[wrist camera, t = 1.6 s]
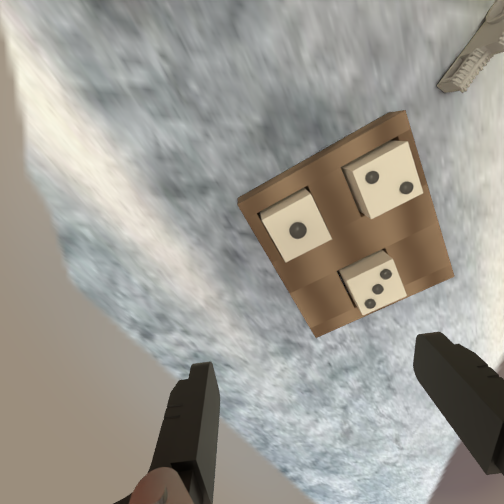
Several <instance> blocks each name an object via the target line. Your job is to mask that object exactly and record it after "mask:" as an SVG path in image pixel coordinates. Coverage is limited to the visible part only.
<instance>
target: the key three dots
mask: <svg viewBox="0 0 504 504" xmlns="http://www.w3.org/2000/svg"><path fill="white" fill-rule="evenodd" d="M338 271H339V273H340V276H341V278H342V280H343V282H344V284H345V286H346V288H347V290H348V292H349V294H350V296H351V298H352V300H353V301H354V303H355V304H356V306H357V307H358V309H359V310H360V312H361V313H362V315H366V314H368V313H370V312H372V311H375V310H377V309H379V308H381V307H383V306H386V305H388V304H390V303H392V302H395V301H397V300H399V299H401V298H404V297H406V296H407V294H406V292H405V289H404V287H403V284H402V281H401V279H400V276H399V274H398V271H397V268H396V266H395V263H394V261H393V259H392V258H391V257H390V256H389V255H388V254H386V253H385V252H384V251H383V250H382V249H381V250H379V251H377V252H375V253H373V254H371V255H369V256H367V257H365V258H363V259H360V260H358V261H356V262H354V263H352V264H350V265H348V266H346V267H344V268H342V269H340V270H338Z"/></svg>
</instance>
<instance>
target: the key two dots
mask: <svg viewBox="0 0 504 504" xmlns="http://www.w3.org/2000/svg"><path fill="white" fill-rule="evenodd" d="M341 170H342V172H343V174H344V177H345V179H346V182H347V184H348V187H349V189H350V191H351V194H352V196H353V199H354V201H355V204H356V206H357V208H358V211H360V212H361V213H363V214H364V215H366V216H367V217H369V218H370V219H373V218H375V217H377V216H379V215H381V214H383V213H385V212H387V211H389V210H391V209H393V208H395V207H397V206H399V205H401V204H403V203H405V202H407V201H409V200H411V199H413V198H415V197H417V196H419V195H421V194H423V190H422V187H421V183H420V180H419V177H418V173H417V170H416V167H415V164H414V160H413V157H412V154H411V150H410V147H409V144H408V141H392V140H389V141H388V142H386V143H384V144H382V145H380V146H379V147H377V148H375V149H373V150H371V151H369V152H368V153H366V154H364V155H362V156H360V157H358V158H357V159H355V160H353V161H351V162H349V163H348V164H346V165H344V166H342V167H341Z"/></svg>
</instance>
